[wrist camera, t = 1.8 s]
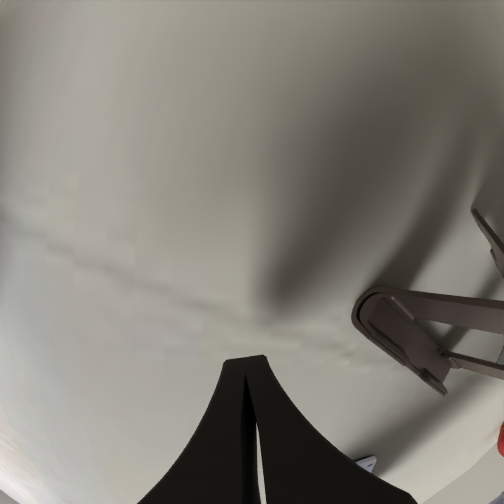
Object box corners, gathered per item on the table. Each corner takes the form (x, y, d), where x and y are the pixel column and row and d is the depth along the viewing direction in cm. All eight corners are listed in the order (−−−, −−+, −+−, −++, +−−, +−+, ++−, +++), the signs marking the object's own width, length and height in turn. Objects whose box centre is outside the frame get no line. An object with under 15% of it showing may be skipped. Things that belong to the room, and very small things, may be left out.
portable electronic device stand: (341, 310, 11) (447, 479, 3) (451, 172, 10) (616, 222, 2) (425, 375, 14) (492, 472, 6) (504, 278, 12) (594, 344, 4)
